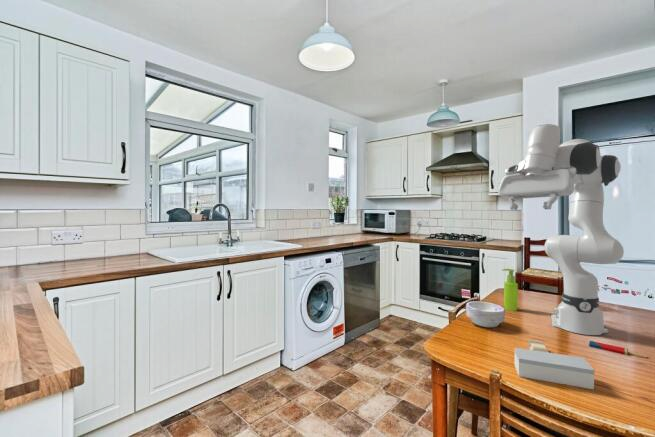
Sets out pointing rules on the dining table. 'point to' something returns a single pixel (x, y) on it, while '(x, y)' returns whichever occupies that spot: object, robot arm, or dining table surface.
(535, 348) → the slat
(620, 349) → the popsicle
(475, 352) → the dining table surface
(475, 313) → the paper bowls
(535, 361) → the end cap
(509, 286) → the soap dispenser
